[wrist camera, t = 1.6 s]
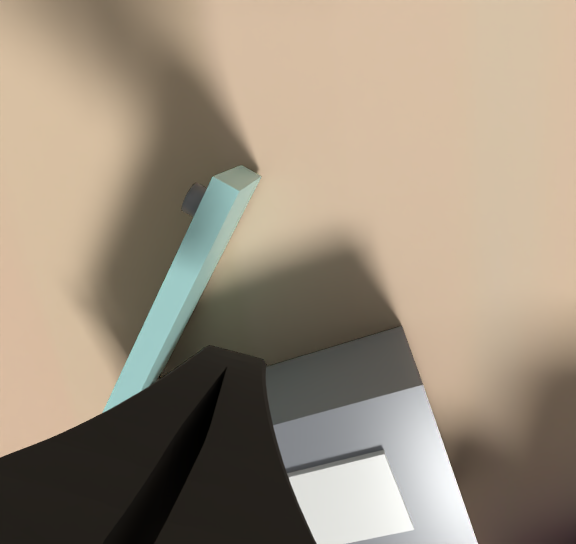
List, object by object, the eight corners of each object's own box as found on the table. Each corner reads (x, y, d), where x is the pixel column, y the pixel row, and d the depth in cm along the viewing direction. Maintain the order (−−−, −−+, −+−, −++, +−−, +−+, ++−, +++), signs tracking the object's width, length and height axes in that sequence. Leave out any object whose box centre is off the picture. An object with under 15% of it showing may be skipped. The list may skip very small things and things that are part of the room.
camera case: (229, 534, 21) (203, 633, 17) (155, 400, 19) (105, 475, 15) (456, 484, 18) (492, 584, 14) (402, 325, 16) (425, 390, 12)
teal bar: (153, 391, 18) (108, 459, 15) (121, 374, 18) (66, 439, 14) (263, 176, 15) (240, 192, 11) (224, 154, 15) (187, 163, 11)
